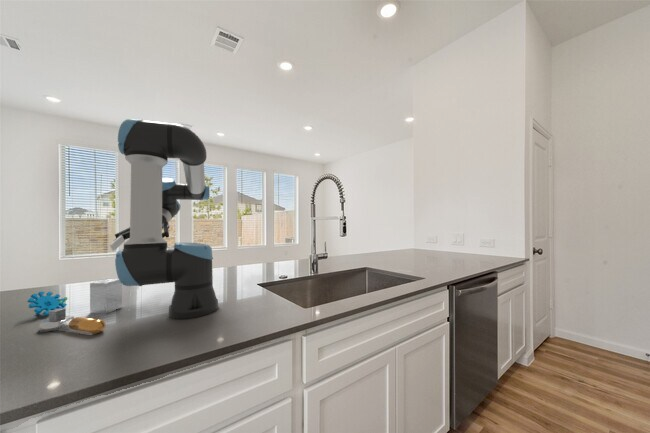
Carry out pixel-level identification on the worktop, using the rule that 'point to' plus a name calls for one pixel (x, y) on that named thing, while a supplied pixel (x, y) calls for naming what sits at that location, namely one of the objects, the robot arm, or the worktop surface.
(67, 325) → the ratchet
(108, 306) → the brushed metal block
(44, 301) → the gear
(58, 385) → the worktop surface
